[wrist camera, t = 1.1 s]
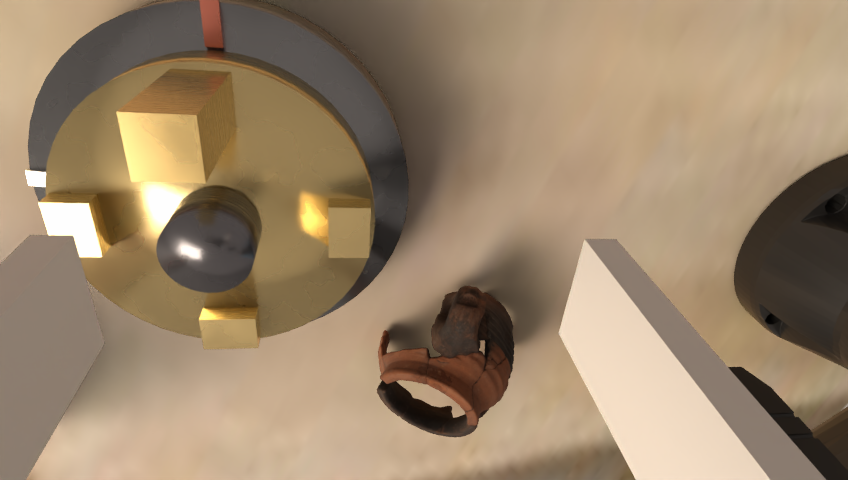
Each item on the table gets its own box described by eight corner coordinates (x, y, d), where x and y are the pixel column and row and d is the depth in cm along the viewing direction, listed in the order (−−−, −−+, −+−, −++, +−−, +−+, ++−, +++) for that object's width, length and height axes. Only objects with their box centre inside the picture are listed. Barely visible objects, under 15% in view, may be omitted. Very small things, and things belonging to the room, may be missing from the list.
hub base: (415, 7, 27) (442, 37, 19) (394, 302, 37) (407, 401, 29) (5, -25, 24) (-153, -4, 16) (99, 305, 34) (26, 416, 26)
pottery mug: (512, 364, 42) (485, 461, 37) (403, 328, 44) (362, 414, 39) (543, 265, 34) (513, 371, 28) (406, 226, 36) (353, 317, 30)
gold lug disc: (368, 309, 32) (375, 420, 25) (107, 313, 30) (31, 436, 23) (378, 60, 25) (392, 114, 18) (32, 39, 23) (-118, 91, 15)
